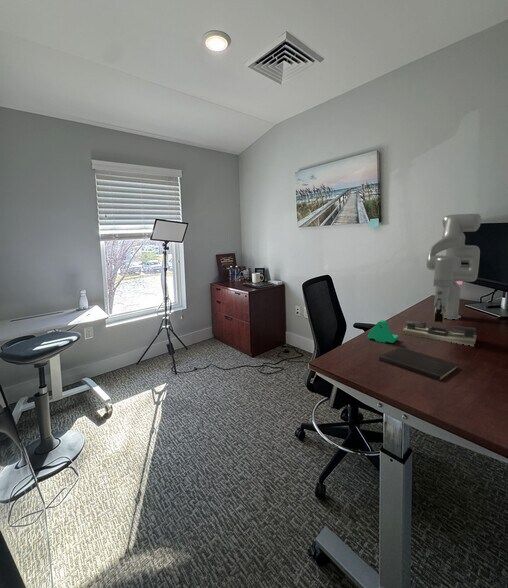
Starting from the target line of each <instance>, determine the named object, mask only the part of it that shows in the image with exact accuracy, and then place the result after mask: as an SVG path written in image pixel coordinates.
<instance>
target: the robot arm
mask: <svg viewBox="0 0 508 588" xmlns="http://www.w3.org/2000/svg"><path fill="white" fill-rule="evenodd" d="M481 224H482V216H481V214H479V213H458V214H455V213H454V214H449V215H445V216H444V217H443V218H442V227H443V231H442V236H441V239H439V240H438V241H437V242H436V243H434V244H433V245H432V246H431V247H430V249H429V251H428V254H427V259H426V267H427V268H426V269H428V270H429V271H434V273H433V274H434V275H433V276H434V277H433V287H435V290H434V291H435V292H434V303H433V306H434V308H435V307H436V311H435V319H434V318H433V322H434V321H437V322H442V318H443V314H442V312H443V307H444V308H446V312H445V318H447V319H446V320H452V319H455V320H460V319H461V317H462V316H461V315H460V314H459V307H460V298H461V286H460V285H459V284H458V283H457V282H468V283H471V282H472V283H473V282H475V281H476V280H477V279H478V276H479V275H478V274H479V268H480V257H481V256H480V255H481V250H480V247H479V246H477V245H472V244H471V245H470V244H469V245H467V244H465V243H466V235H465V233H464V232H476V231H478V230H479V228H480V227H481ZM443 251H445V255H438V253H441V252H443ZM462 263H468V264H462ZM459 318H460V319H459ZM437 322H436V323H437Z"/></svg>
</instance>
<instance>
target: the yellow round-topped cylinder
mask: <svg viewBox="0 0 508 588" xmlns="http://www.w3.org/2000/svg"><path fill="white" fill-rule="evenodd" d="M433 311H434V312H433V323H439V324H443V323H445V319H444V318H445V312H446V308H444V307H443V312H442V314H443V318H442V322H437V321H434V319H435V311H436V307H435V306H434V308H433Z"/></svg>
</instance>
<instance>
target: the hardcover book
mask: <svg viewBox="0 0 508 588" xmlns="http://www.w3.org/2000/svg"><path fill="white" fill-rule="evenodd" d="M378 361H380V362H383V363H385V364H387V365H391V366H395V367H396V368H400V369H403V370H407V371H409V372H411V373H415V374H418V375H421V376H424V377H426V378H429V379H433V380H434V381H439V382H440V380H442V379H444V378H445V377H446V376H448V375H449V374H451V373H453V371H455V370H456V369H457V368H458V366H459V363H456V362H453V361H448V360H446V359H442V358H439V357H435V356H432V355H428V354H424V353H421V352H418V351H414V350H410V349H408V348H404V347H400V346H399V347H397V348H393V349H392V350H390V351H388V352H386V353H383V354H381V355H379V358H378Z"/></svg>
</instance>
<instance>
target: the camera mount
mask: <svg viewBox="0 0 508 588" xmlns="http://www.w3.org/2000/svg"><path fill="white" fill-rule="evenodd" d="M367 338H368V339H373V340H374V341H375V342H377V341H379V343H382V342H383V343H382V344H386V343H391V344H393V343H395V342H397V340H398V339H399V335H397V334H392V332H391V330H390V328H389V323H388V322H387V320H385V319H382V320H379V321H377V323H376V324H375V325H374V326H373V327H372V329H371V330H370V331H369V332H368V334H367Z"/></svg>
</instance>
